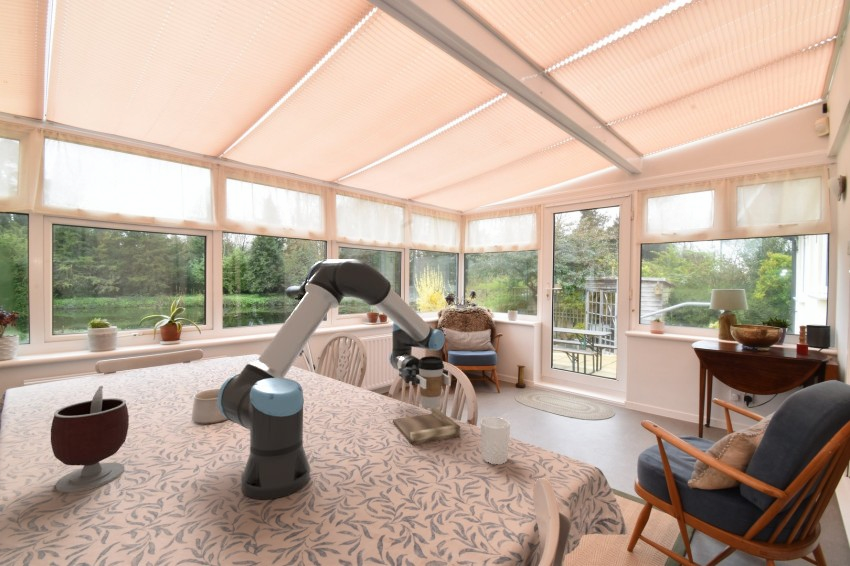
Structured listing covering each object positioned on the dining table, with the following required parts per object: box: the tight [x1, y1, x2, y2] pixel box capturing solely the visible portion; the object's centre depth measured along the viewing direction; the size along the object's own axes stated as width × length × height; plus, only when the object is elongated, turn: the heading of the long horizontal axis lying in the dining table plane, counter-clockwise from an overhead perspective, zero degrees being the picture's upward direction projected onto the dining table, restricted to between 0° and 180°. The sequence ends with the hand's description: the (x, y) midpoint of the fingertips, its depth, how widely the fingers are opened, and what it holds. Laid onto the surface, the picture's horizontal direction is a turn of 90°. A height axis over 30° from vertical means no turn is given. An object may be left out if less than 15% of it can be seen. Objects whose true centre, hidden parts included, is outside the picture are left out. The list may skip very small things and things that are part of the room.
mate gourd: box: [50, 385, 130, 493], centre depth 89 cm, size 16×14×20 cm
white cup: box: [480, 416, 511, 465], centre depth 101 cm, size 8×8×10 cm
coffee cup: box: [418, 355, 445, 410], centre depth 118 cm, size 8×8×15 cm
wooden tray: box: [392, 408, 461, 446], centre depth 120 cm, size 16×18×3 cm
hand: (437, 383), depth 114 cm, fingers closed on coffee cup, 8 cm apart
